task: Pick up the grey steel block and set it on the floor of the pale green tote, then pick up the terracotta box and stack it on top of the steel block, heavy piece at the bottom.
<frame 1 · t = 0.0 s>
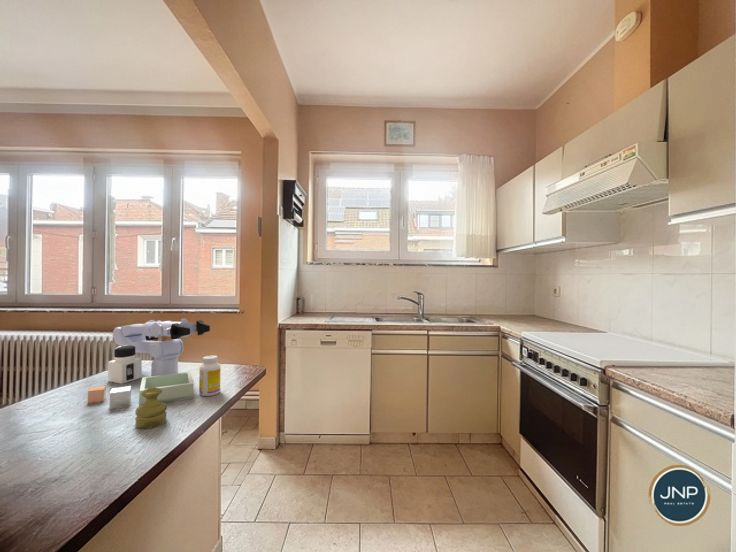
hand: (199, 329, 118), 22 cm above the table, tool horizontal, fingers open, 7 cm apart
gold rounded piece: (151, 423, 92), on the table
steel block: (120, 405, 104), on the table
terracotta box: (96, 400, 107), on the table
container: (125, 380, 127), on the table, touching arm
supplement bottle: (209, 393, 115), on the table
tote: (167, 394, 113), on the table
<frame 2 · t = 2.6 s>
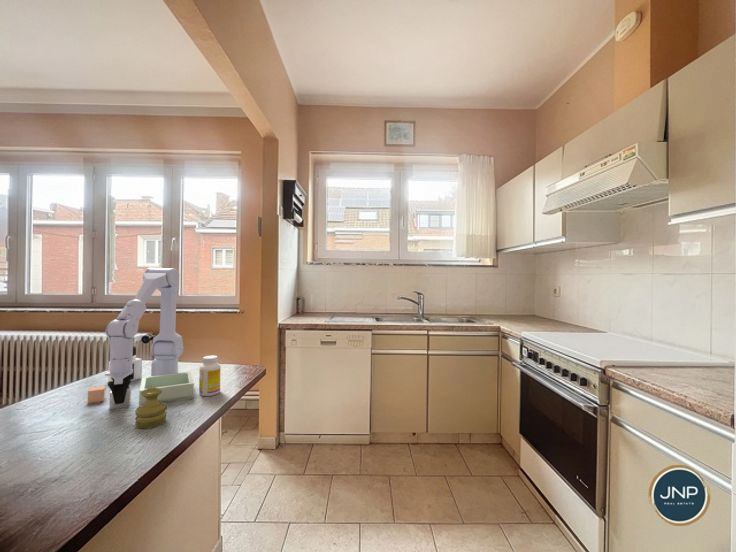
hand: (120, 400, 104), 1 cm above the table, tool pointing down, fingers closed on steel block, 5 cm apart
steel block: (120, 404, 104), on the table, touching gripper
container: (125, 380, 127), on the table
everything else where it was.
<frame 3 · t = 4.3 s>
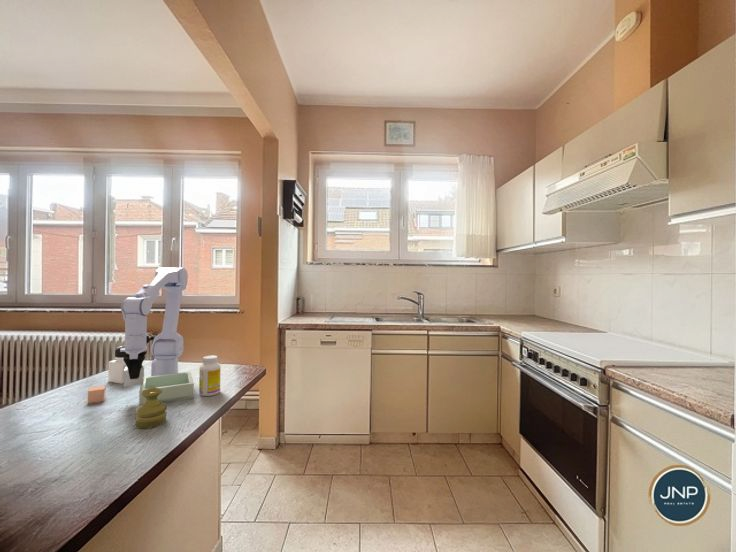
hand: (135, 376, 106), 8 cm above the table, tool pointing down, fingers closed on steel block, 5 cm apart
steel block: (134, 383, 106), point 6 cm above the table, touching gripper
everything else where it was.
when the fingers open (5 cm above the table, at t = 6.0 s): steel block stays where it is, resting on tote.
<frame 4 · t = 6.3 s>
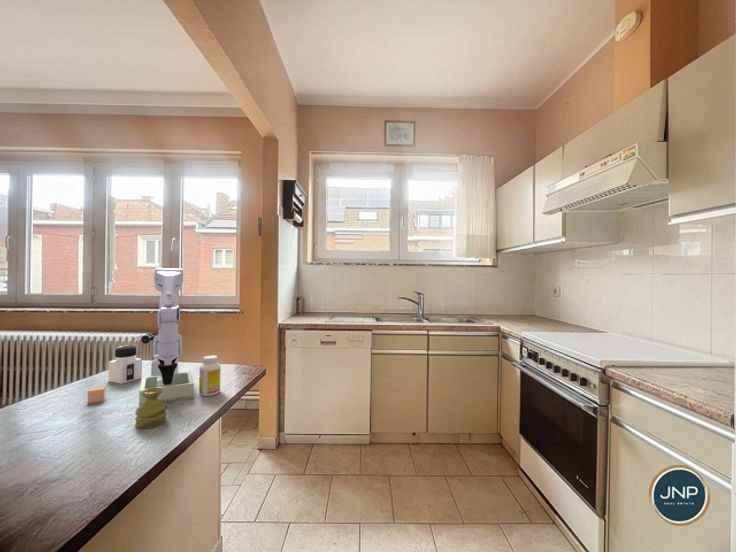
hand: (167, 381, 113), 5 cm above the table, tool pointing down, fingers open, 7 cm apart
steel block: (165, 392, 113), point 1 cm above the table, touching tote
everything else where it was.
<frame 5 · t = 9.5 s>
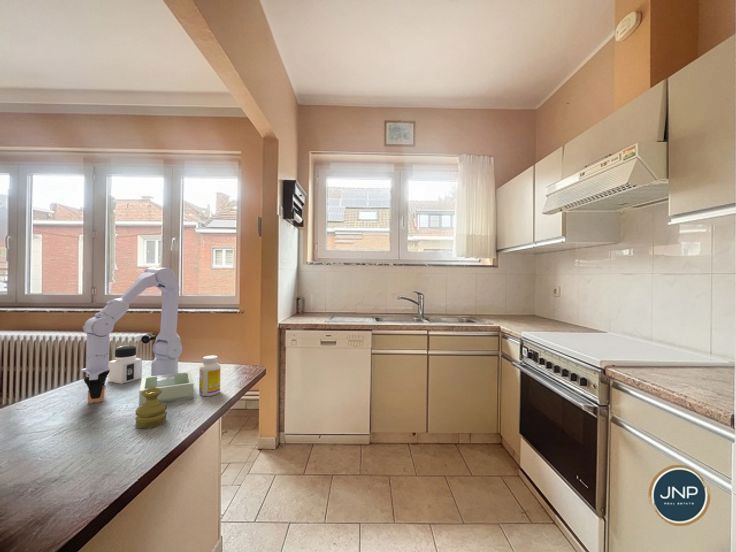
hand: (97, 395, 107), 1 cm above the table, tool pointing down, fingers closed on terracotta box, 4 cm apart
terracotta box: (96, 400, 107), on the table, touching gripper
everything else where it was.
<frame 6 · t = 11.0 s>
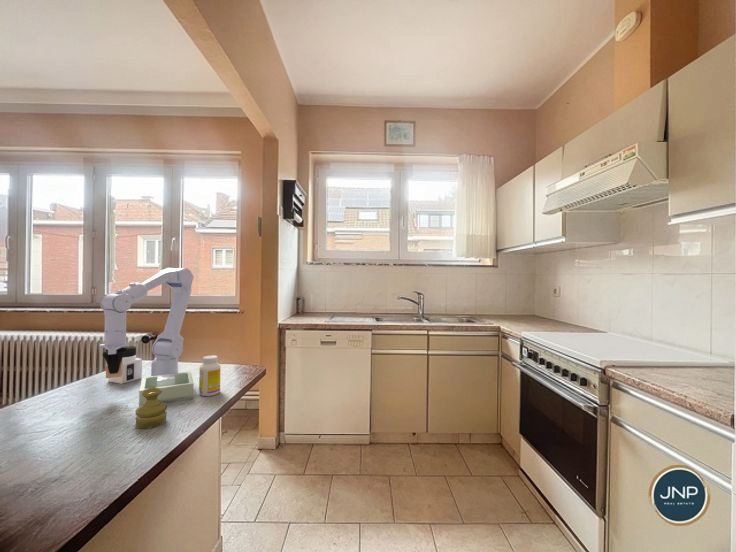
hand: (114, 371, 108), 9 cm above the table, tool pointing down, fingers closed on terracotta box, 4 cm apart
terracotta box: (114, 375, 108), point 8 cm above the table, touching gripper
everything else where it was.
when the fingers open (9 cm above the table, at t = 12.6 s): terracotta box drops 1 cm, resting on steel block.
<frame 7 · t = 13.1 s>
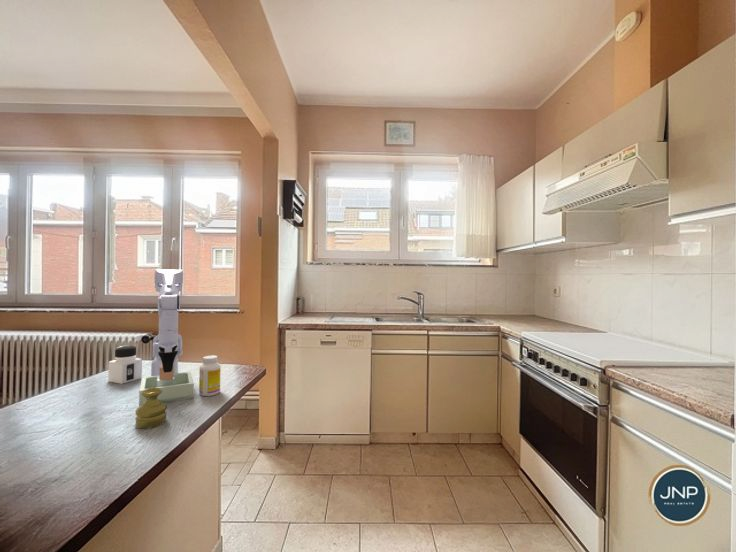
hand: (167, 369, 113), 9 cm above the table, tool pointing down, fingers open, 7 cm apart
steel block: (165, 392, 113), point 1 cm above the table, touching terracotta box, tote
terracotta box: (166, 377, 113), point 6 cm above the table, touching steel block
everything else where it was.
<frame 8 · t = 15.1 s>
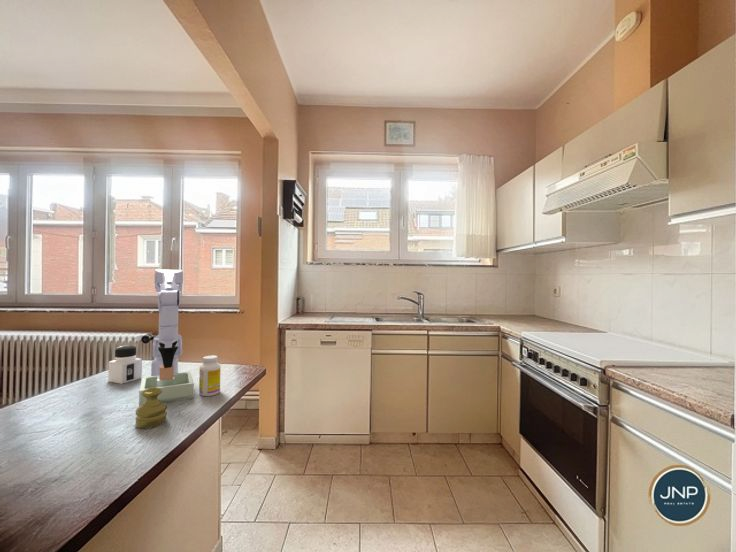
hand: (167, 364, 113), 10 cm above the table, tool pointing down, fingers open, 7 cm apart
nothing on the table moved.
at the end: steel block inside the target area on the tote (0.4 cm from its centre), point 1.0 cm above the tote's base; terracotta box 0.1 cm off-centre on the steel block, point 5.0 cm above the steel block's base; terracotta box tilted 0° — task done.
